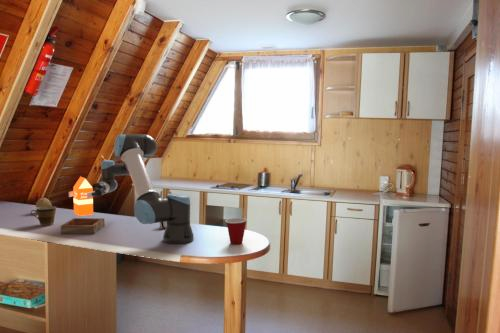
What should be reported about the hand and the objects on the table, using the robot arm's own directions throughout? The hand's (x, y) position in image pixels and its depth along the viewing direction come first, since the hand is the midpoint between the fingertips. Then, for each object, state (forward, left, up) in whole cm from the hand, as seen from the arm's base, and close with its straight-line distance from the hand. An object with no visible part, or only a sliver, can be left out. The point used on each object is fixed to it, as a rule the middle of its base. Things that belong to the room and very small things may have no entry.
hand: (78, 195), depth 216 cm
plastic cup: (-19, -84, -20) cm, 88 cm away
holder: (+4, -1, -20) cm, 20 cm away
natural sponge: (+46, +40, -20) cm, 64 cm away
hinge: (+16, -46, -20) cm, 53 cm away
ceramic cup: (+14, +25, -20) cm, 35 cm away
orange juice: (+4, -1, -11) cm, 12 cm away
